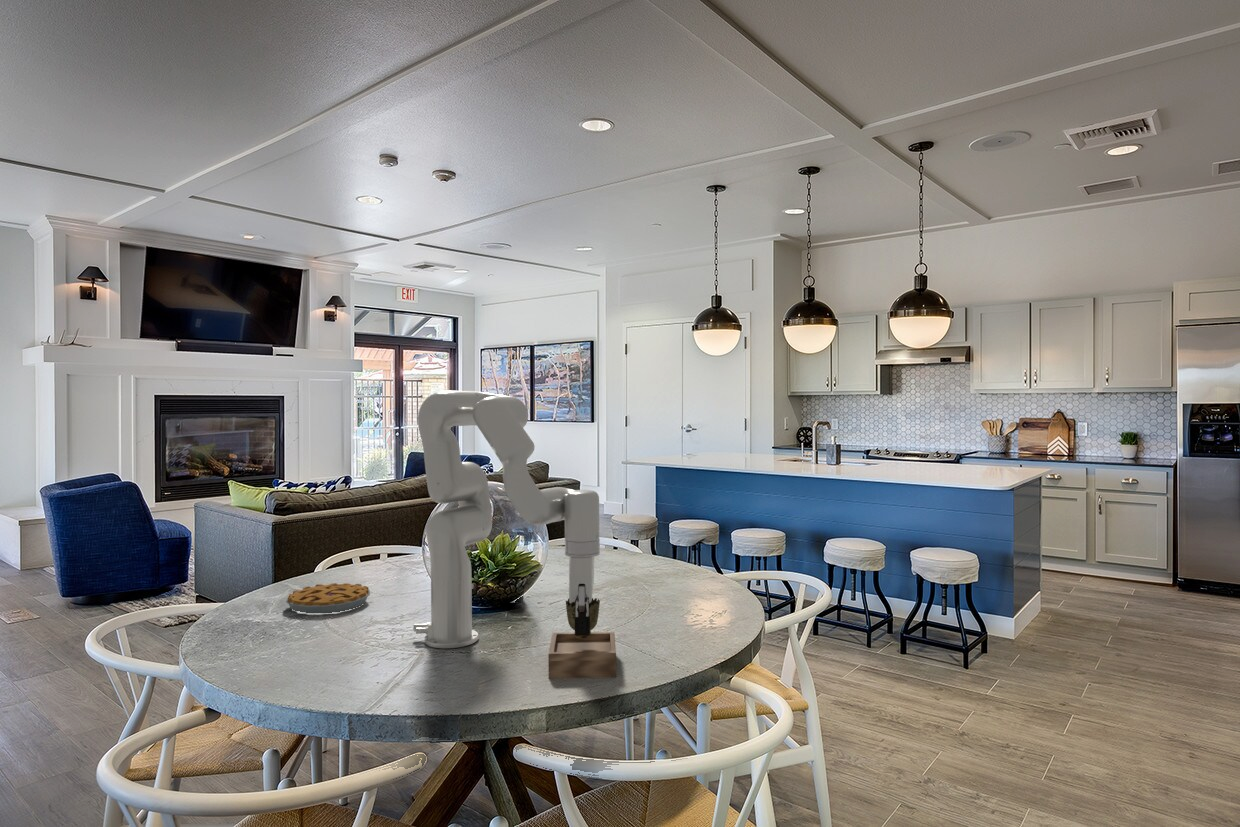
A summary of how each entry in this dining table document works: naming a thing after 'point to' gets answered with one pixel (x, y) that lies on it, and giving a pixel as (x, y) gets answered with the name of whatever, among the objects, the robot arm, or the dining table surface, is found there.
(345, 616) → the dining table surface
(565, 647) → the shallow wooden tray
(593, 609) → the cup
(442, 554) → the robot arm
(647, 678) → the dining table surface
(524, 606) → the dining table surface
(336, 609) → the pie
